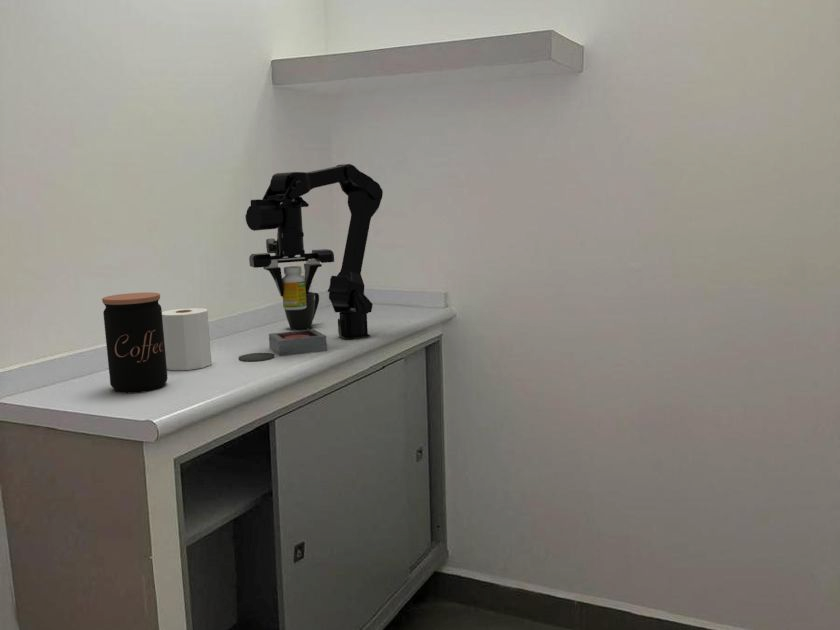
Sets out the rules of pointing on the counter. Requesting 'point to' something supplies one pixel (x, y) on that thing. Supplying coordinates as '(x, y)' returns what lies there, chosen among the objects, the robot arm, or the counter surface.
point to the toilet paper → (186, 338)
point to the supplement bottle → (294, 289)
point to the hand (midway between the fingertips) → (294, 295)
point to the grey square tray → (297, 342)
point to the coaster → (256, 357)
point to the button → (296, 336)
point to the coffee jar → (135, 342)
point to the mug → (303, 313)
